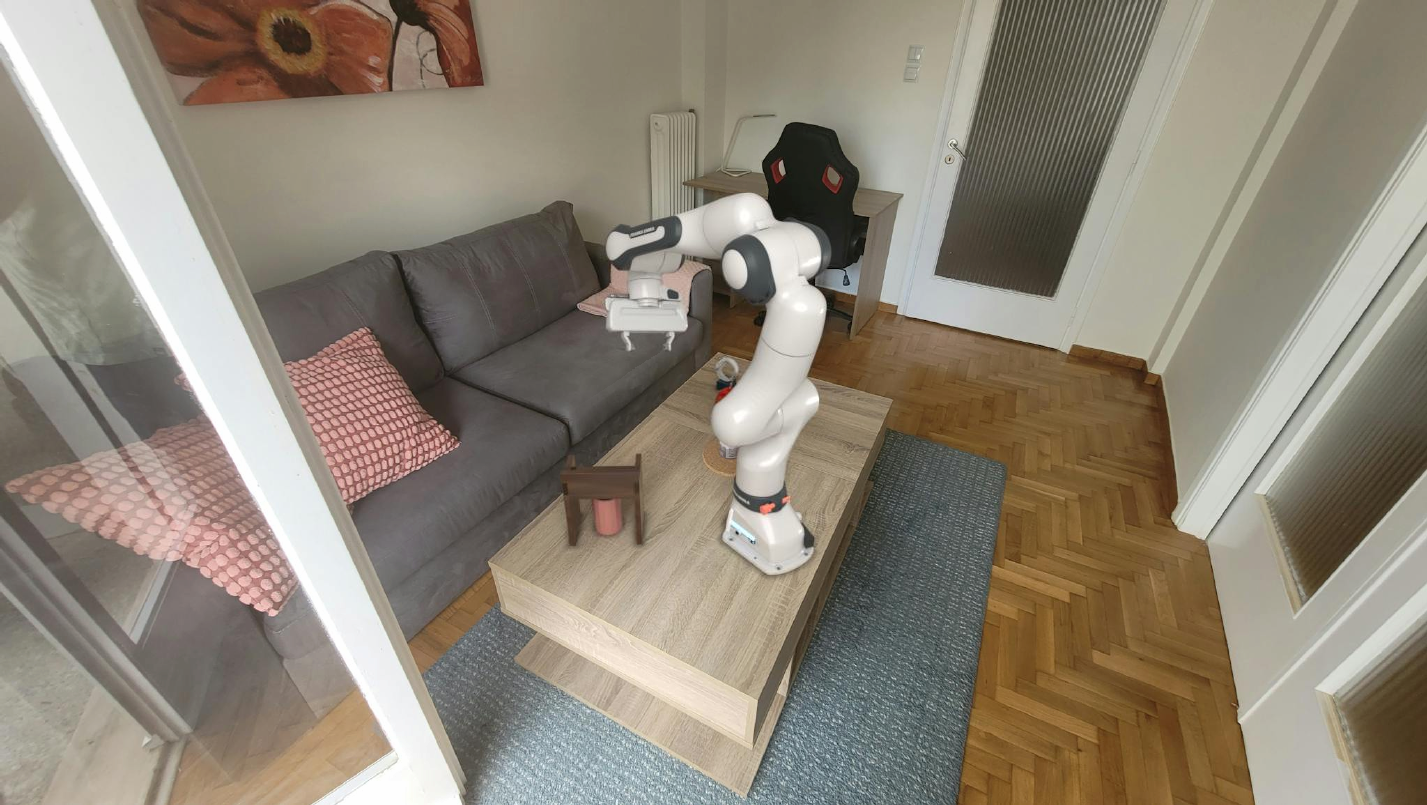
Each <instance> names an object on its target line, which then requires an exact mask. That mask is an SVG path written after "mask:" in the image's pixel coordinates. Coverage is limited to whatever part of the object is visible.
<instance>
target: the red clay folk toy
mask: <svg viewBox="0 0 1427 805" xmlns="http://www.w3.org/2000/svg"><path fill="white" fill-rule="evenodd" d="M735 375H736V374H735ZM735 375H734V376H733V375H732V374H730V375H729V376H731V377H733V379H734V378H737V379H738V378H739V375H737V376H735ZM733 379H732V382H733ZM732 382H731V383H730V385H731V386H732ZM731 386H730V387H726V388H724V389H722V390H718V393H717V395H716V397H715V401H714V403H713V407H714V406H715V405H716V404H717V403H718V402H719V401H721V400H722V399H723V398H724V397H725V396H726V395H727V394H728V393H729V392H730V391H731V390H732V389H733V387H731Z"/></svg>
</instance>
